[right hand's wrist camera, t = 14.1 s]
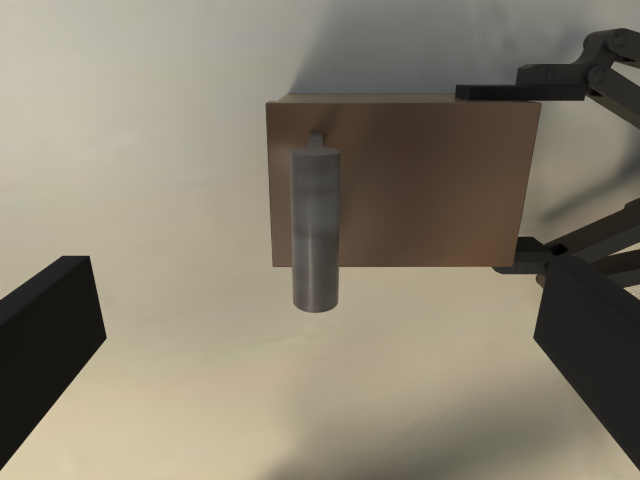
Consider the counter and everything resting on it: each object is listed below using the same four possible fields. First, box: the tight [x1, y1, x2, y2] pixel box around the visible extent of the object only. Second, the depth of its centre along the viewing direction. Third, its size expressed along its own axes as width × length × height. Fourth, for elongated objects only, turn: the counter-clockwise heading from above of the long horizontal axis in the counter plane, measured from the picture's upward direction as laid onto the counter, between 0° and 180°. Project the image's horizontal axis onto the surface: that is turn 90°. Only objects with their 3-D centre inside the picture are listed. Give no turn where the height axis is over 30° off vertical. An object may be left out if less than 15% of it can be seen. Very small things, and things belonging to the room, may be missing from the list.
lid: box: [266, 101, 541, 313], centre depth 21 cm, size 14×9×9 cm, turn 90°
